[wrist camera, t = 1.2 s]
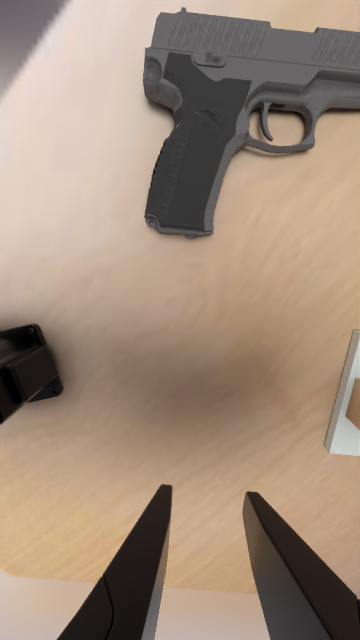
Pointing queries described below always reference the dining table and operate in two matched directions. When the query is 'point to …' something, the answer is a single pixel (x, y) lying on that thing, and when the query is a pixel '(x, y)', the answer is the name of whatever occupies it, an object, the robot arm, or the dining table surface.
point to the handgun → (233, 101)
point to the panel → (345, 407)
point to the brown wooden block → (354, 404)
